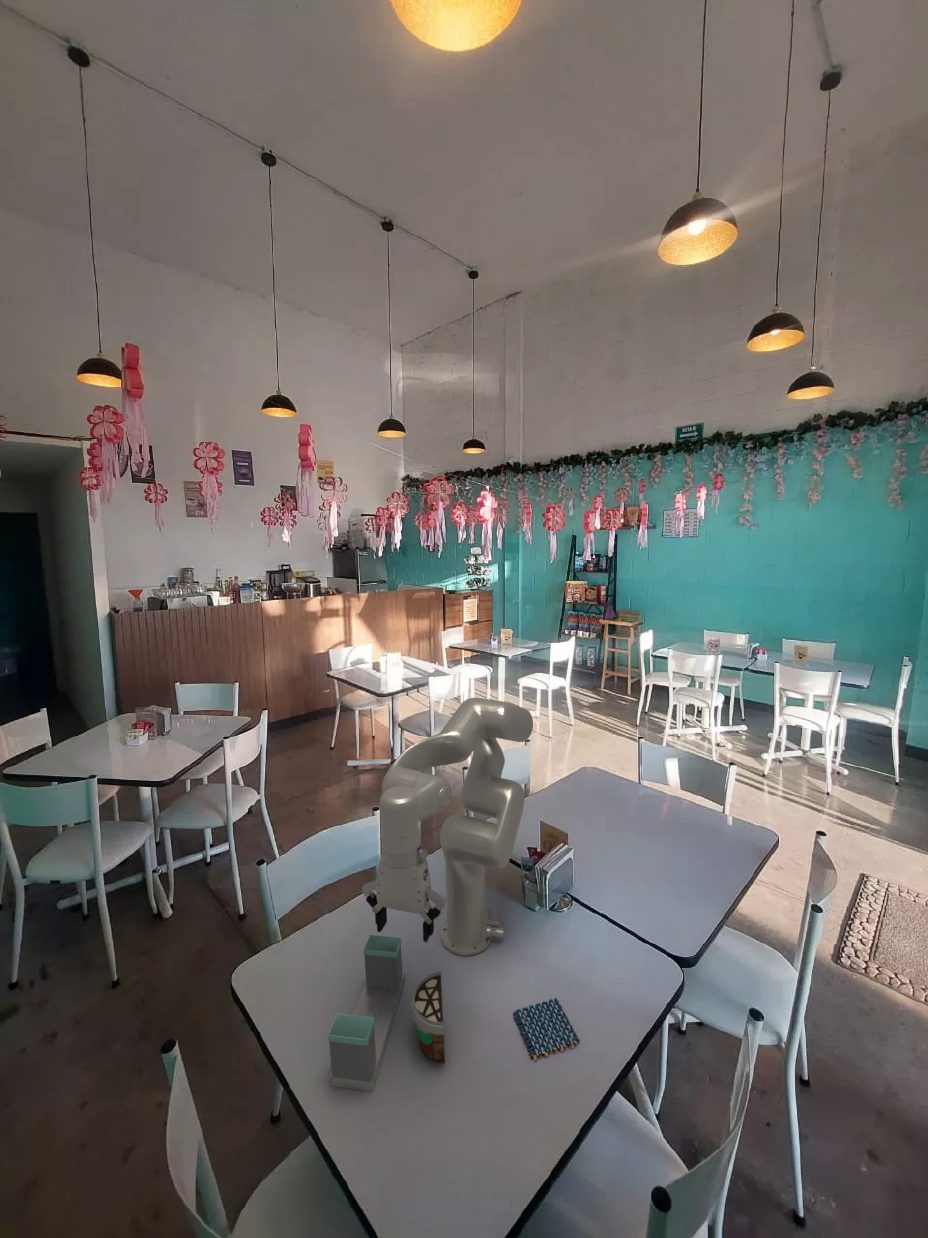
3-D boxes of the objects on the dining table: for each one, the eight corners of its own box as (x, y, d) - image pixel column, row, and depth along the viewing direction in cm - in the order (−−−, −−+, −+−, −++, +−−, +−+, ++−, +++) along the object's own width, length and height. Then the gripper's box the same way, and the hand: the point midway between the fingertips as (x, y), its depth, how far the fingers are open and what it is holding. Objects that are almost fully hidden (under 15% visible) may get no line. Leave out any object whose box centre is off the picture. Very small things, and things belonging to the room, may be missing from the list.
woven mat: (582, 1048, 99) (582, 1039, 99) (531, 1065, 96) (531, 1056, 96) (557, 1002, 109) (557, 994, 108) (511, 1016, 106) (511, 1008, 105)
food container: (413, 1013, 106) (411, 971, 105) (442, 1010, 107) (441, 968, 105) (412, 1074, 94) (410, 1028, 93) (445, 1071, 95) (443, 1025, 93)
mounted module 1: (376, 1059, 95) (374, 1018, 94) (369, 1082, 91) (366, 1040, 90) (340, 1054, 96) (337, 1013, 95) (331, 1077, 92) (328, 1035, 91)
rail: (404, 981, 114) (404, 973, 114) (372, 1091, 91) (371, 1082, 91) (370, 977, 115) (370, 970, 115) (330, 1086, 93) (329, 1076, 92)
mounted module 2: (402, 973, 114) (401, 937, 112) (397, 989, 110) (396, 953, 108) (371, 970, 115) (369, 934, 113) (365, 986, 111) (363, 949, 109)
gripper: (450, 847, 99) (452, 926, 101) (369, 834, 103) (373, 910, 106) (438, 871, 92) (440, 956, 94) (351, 857, 96) (355, 937, 99)
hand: (404, 931), depth 100 cm, fingers open, 9 cm apart
